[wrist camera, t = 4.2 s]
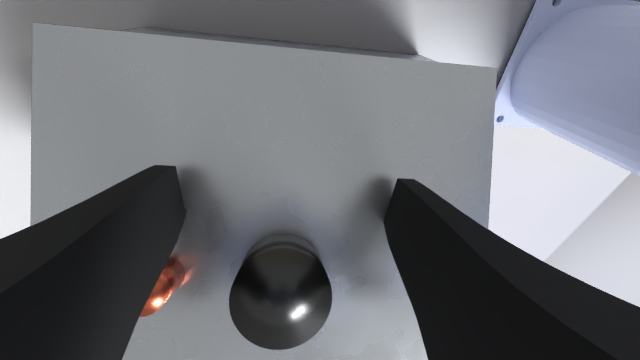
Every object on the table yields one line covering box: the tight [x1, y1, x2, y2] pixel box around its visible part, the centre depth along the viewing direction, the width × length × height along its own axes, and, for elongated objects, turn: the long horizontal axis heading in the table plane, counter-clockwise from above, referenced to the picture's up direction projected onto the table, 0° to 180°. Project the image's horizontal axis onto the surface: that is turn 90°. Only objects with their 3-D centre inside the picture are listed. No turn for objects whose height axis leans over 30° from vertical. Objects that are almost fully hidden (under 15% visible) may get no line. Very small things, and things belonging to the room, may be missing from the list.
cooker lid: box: [31, 23, 497, 360], centre depth 9 cm, size 16×16×3 cm
